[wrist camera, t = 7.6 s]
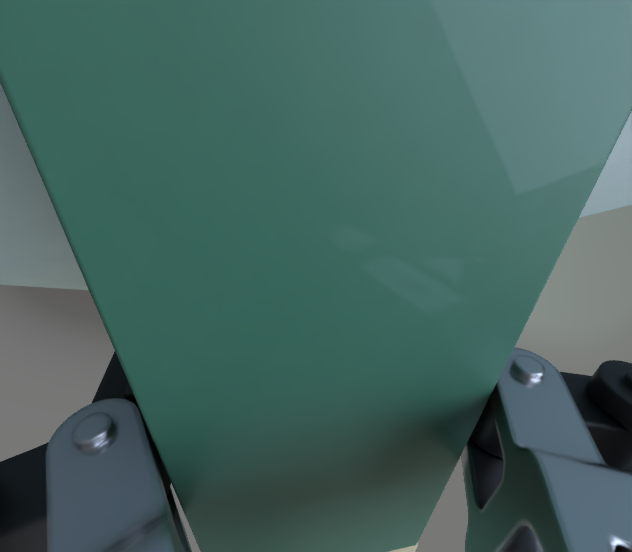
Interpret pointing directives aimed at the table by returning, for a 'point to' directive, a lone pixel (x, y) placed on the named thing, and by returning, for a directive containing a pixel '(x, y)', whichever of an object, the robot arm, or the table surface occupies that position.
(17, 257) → the table surface
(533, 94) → the green block
